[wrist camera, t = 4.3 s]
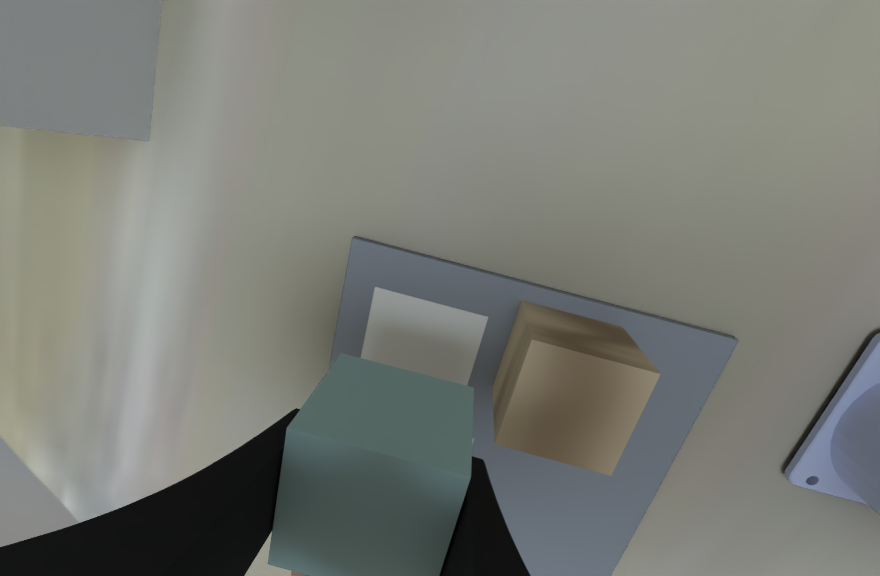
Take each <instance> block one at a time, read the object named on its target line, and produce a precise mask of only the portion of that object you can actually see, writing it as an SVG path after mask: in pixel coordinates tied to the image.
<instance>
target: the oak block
mask: <svg viewBox="0 0 880 576" xmlns="http://www.w3.org/2000/svg"><path fill="white" fill-rule="evenodd" d="M659 376H660V373H659V371H658V370H657V369H656V368H655V366H654V365H653V364H652V363H651V361H650V360H649V359H648V358H647V357H646V355H645V354H644V353H643V352H642V350H641V349H640V348H639V347H638V345H637V344H636V343H635V342H634V340H633V339H632V338H631V337H630V335H629V334H628V333H627V332H626V331H625V329H624V328H623V327H621V326H617V325H613V324H610V323H606V322H602V321H598V320H595V319H591V318H587V317H583V316H580V315H576V314H572V313H568V312H564V311H561V310H557V309H553V308H549V307H546V306H542V305H538V304H534V303H531V302H527V301H523V300H521V303H520V306H519V309H518V312H517V315H516V318H515V321H514V324H513V327H512V330H511V333H510V336H509V339H508V342H507V345H506V348H505V351H504V354H503V357H502V360H501V363H500V366H499V369H498V372H497V375H496V378H495V381H494V384H493V387H492V390H493V415H494V440H495V444H496V445H499V446H503V447H507V448H510V449H514V450H518V451H521V452H525V453H529V454H532V455H536V456H540V457H544V458H547V459H551V460H555V461H558V462H562V463H566V464H569V465H573V466H577V467H580V468H584V469H588V470H591V471H595V472H599V473H602V474H606V475H610V476H611V475H612V473H613V471H614V469H615V467H616V465H617V463H618V461H619V459H620V457H621V455H622V452H623V450H624V448H625V446H626V444H627V442H628V440H629V438H630V436H631V434H632V432H633V430H634V428H635V426H636V424H637V422H638V420H639V418H640V415H641V413H642V411H643V409H644V407H645V405H646V403H647V401H648V399H649V397H650V395H651V393H652V391H653V389H654V387H655V385H656V383H657V381H658V378H659Z"/></svg>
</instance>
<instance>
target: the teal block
mask: <svg viewBox="0 0 880 576" xmlns="http://www.w3.org/2000/svg"><path fill="white" fill-rule="evenodd" d="M473 404H474V388H473V387H470V386H466V385H462V384H458V383H454V382H450V381H447V380H443V379H439V378H435V377H431V376H427V375H424V374H420V373H416V372H412V371H408V370H405V369H401V368H397V367H393V366H389V365H385V364H382V363H378V362H374V361H370V360H366V359H362V358H359V357H355V356H351V355H347V354H343V353H341V355H340V356H339V357H338V359H337V360H336V362H335V363H334V364H333V366H332V367H331V368H330V370H329V371H328V372H327V374H326V375H325V377H324V378H323V379H322V381H321V382H320V383H319V385H318V386H317V387H316V389H315V390H314V391H313V393H312V394H311V396H310V397H309V398H308V400H307V401H306V402H305V404H304V405H303V406H302V408H301V409H300V411H299V412H298V413H297V415H296V416H295V417H294V419H293V420H292V421H291V423H290V424H289V426H288V427H287V430H286V437H285V444H284V451H283V458H282V466H281V473H280V480H279V487H278V494H277V501H276V509H275V516H274V523H273V530H272V537H271V544H270V552H269V559H268V564H269V565H273V566H277V567H280V568H284V569H288V570H291V571H295V572H299V573H302V574H306V575H309V576H439V575H440V572H441V568H442V565H443V562H444V559H445V556H446V553H447V550H448V547H449V544H450V541H451V537H452V534H453V531H454V528H455V525H456V522H457V519H458V516H459V513H460V510H461V506H462V503H463V500H464V497H465V494H466V491H467V488H468V485H469V482H470V479H471V463H472V433H473Z"/></svg>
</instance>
